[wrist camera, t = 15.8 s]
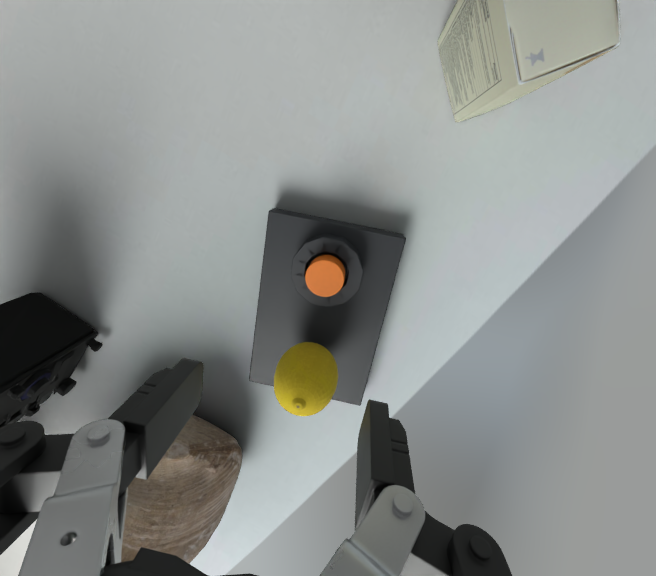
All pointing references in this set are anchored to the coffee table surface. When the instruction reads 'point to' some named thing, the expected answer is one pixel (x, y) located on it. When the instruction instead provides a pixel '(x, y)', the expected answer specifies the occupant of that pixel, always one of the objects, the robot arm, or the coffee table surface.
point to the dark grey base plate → (323, 312)
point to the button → (325, 275)
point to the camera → (38, 353)
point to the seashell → (183, 493)
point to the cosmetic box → (519, 47)
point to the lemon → (305, 379)
